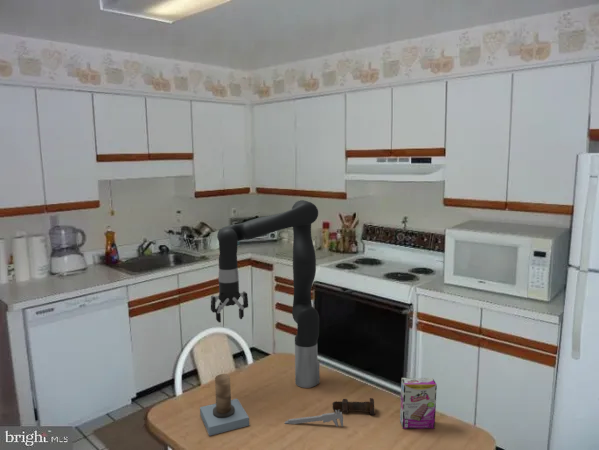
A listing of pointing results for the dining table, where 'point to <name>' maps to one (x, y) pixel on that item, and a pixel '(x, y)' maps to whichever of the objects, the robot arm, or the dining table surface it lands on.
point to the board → (224, 419)
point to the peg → (223, 397)
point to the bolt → (354, 406)
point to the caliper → (319, 418)
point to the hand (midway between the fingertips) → (230, 320)
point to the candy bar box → (418, 403)
